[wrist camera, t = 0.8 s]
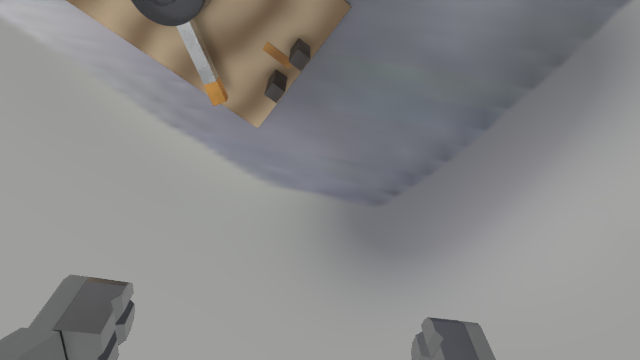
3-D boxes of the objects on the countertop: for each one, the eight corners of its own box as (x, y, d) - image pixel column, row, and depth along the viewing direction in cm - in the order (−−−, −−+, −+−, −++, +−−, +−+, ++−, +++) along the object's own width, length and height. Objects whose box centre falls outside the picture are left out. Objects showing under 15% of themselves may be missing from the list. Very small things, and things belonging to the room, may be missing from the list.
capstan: (102, -101, 35) (65, -108, 30) (171, -129, 34) (146, -140, 29) (199, 97, 46) (185, 119, 40) (254, 81, 45) (247, 101, 40)
